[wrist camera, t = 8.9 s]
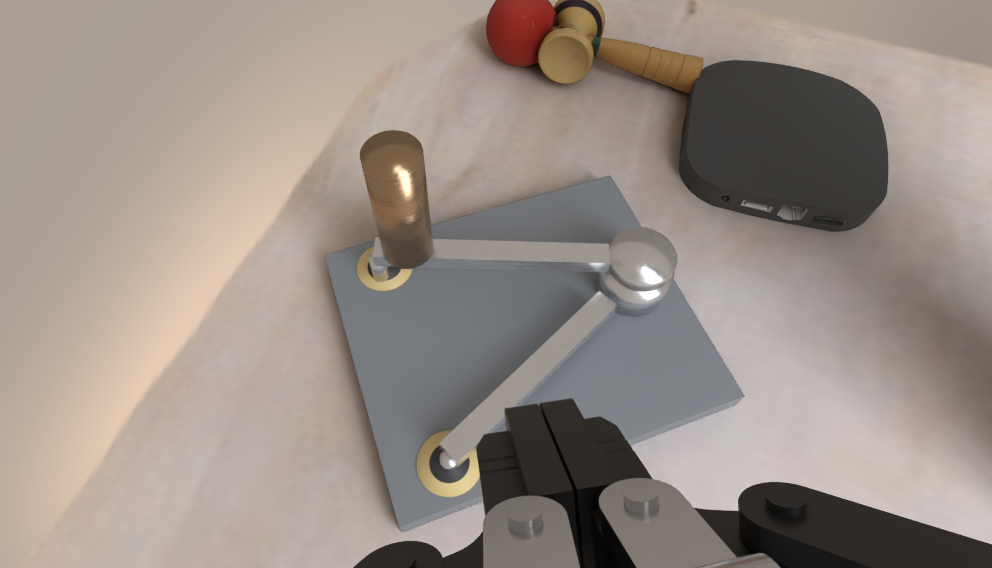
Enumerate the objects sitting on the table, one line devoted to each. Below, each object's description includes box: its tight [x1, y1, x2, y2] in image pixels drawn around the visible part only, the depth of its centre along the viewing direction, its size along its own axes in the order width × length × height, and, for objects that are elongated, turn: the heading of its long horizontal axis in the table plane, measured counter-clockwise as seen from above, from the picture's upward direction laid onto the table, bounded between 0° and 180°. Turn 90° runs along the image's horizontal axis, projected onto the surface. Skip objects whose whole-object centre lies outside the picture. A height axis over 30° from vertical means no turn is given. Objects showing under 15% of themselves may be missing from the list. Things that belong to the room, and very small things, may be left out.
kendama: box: [486, 0, 703, 94], centre depth 51 cm, size 8×6×18 cm
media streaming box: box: [679, 60, 888, 231], centre depth 47 cm, size 15×15×3 cm
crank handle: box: [360, 130, 677, 292], centre depth 34 cm, size 18×4×11 cm, turn 89°
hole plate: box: [324, 176, 744, 532], centre depth 39 cm, size 21×18×2 cm
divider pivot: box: [439, 245, 674, 471], centre depth 36 cm, size 19×4×2 cm, turn 130°
